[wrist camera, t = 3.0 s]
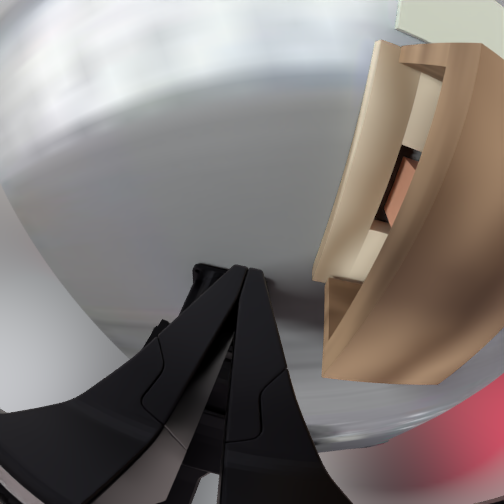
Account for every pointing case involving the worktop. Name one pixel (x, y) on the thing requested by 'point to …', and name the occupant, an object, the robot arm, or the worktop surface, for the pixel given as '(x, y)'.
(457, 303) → the brown wooden u-shape
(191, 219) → the worktop surface
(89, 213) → the worktop surface
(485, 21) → the tile
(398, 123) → the board
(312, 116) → the worktop surface
